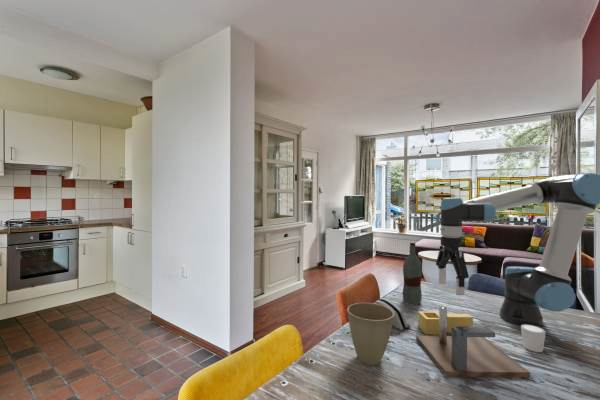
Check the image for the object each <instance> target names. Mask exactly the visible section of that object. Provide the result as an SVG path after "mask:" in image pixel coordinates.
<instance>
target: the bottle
mask: <svg viewBox="0 0 600 400" xmlns="http://www.w3.org/2000/svg"><path fill="white" fill-rule="evenodd" d="M402 264H403V266H402V274H403V288H402V299H403V302H404V303H405V304H409V305H413V306H415V305H416V306H418V305H420V304H421V302H422V297H423V296H422V295H423V294H422V286H421V284H422V275H423V266H422V262H421V260H420V258H419V257H418V256H417V254H416V243H415V242H410V243H409V254H408V255H407V256H406V258H405V260H404V262H403V263H402Z"/></svg>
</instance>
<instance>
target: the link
mask: <svg viewBox="0 0 600 400" xmlns="http://www.w3.org/2000/svg"><path fill="white" fill-rule="evenodd" d="M417 311H418V310H417ZM417 315H418V316H417V326H418V327H419V328H420V330H421V331H422V332H423V333H424V334H425V335H437V336H439V312H437V311H431V310H430V311H429V310H428V311H424V310H423V311H422V310H421V311H418V313H417ZM456 326H474V317H473V316H472V315H470V314H469V313H447V333H452V327H456Z"/></svg>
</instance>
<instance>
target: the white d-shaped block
mask: <svg viewBox="0 0 600 400" xmlns="http://www.w3.org/2000/svg"><path fill="white" fill-rule="evenodd" d="M374 304H378V305H382V306H385V307H387V308H389V309H391V310H392V311H393V313H394V318H393V324H392V326H395V327H396V328H397V329H398V328H399V329H398V330H400V331H403V330H404V328H408V329H411V327H412V326H411V324H410V323H408V322H407V319H406V318H405V315H404V312H403V310H402V308H400V307H399V306H398V305H397V304H395V303H394V302H392V301H391V300H389V299H387V298H383V297H381V298H380V299H378V300H376V301H375V302H374Z"/></svg>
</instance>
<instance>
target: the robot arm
mask: <svg viewBox="0 0 600 400" xmlns="http://www.w3.org/2000/svg"><path fill="white" fill-rule="evenodd" d="M549 203H550V204H551V203H553V204H554V205H555V207H556V208H557V212H556V214H555V218H554V219H553V220H554V221H553V222H552V227H551V229H550V232H549V236H548V239H547V241H546V245H545V248H544V250H543V254H542V257H541V260H540V263H539V265H538V266H536V267H530V266H516V265H515V266H514V265H513V266H507V267H506V268H505V269H504V300H503V302H502V304H501V307H500V308H499V317H500V318H502V319H503V320H505V321H507V322H510V323H512V324H516V325H520V326H521V325H524V324H527V325H533V326H537V327H542V326H543V325H544V317H543V316H542V312H541V310H540V308H542V309H545V310H547V311H549V312H558V313H559V312H563V311H566V310H569V308H570V307H571V306H573V305H574V302H575V300H576V293H575V290H574V288H572V286H571V285H572V278H571V277H570V276H569V271H570V269H571V267H572V266H571V265H572V263H573V259H574V257H575V253H576V251H577V248H578V245H579V241H580V238H581V235H582V233H583V229H584V226H585V224H586V220H587V217H588V215H589V214H591V213H594V212H595V210H596V207H597V205H600V174H598V173H594V172H593V173H592V172H579V173H572V174H571V173H569V174H558V175H555V176H554V175H553V176H551V177H547V178H544V179H540V180H537V181H534V182H529V183H528V184H526V186H523V187H518V188H515V189H510V190H505V191H502V192H501V191H500V192H497V193H493V194H489V195H483V196H481V197H476V198H472V199H468V200H463V199H462V198H461V197H444V198H442V199H441V201H440V228H439V230H440V235H441V237H440V246H439V251H438V255H437V258H436V261H435V266H436V267H437V269H438V284H439V285H446V284H447V265H448V262H449V261H450V262H451V263H452V265H453V268H454V271H455V273H456V277H455V279H456V280H455V285H456V287H455V293H456V294H455V295H456V296H465V285H466V284H465V281H466V280H465V279H469V278H470V276H469V272H468V267H467V265H466V264H467V263H466V260H465V253H464V251H462V250H461V251H459V248H461V247H463V238H462V235H463V222H471V223H473V222H474V223H479V222H480V223H485V222H486V223H487V222H488V223H489V222H492V221H494V219H495V218H496V216H497V213H496V212H499V211H503V210H508V209H513V208H517V207H520V206H525V205H531V204H533V205H540V204H541V205H542V204H549ZM539 307H540V308H539Z"/></svg>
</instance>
